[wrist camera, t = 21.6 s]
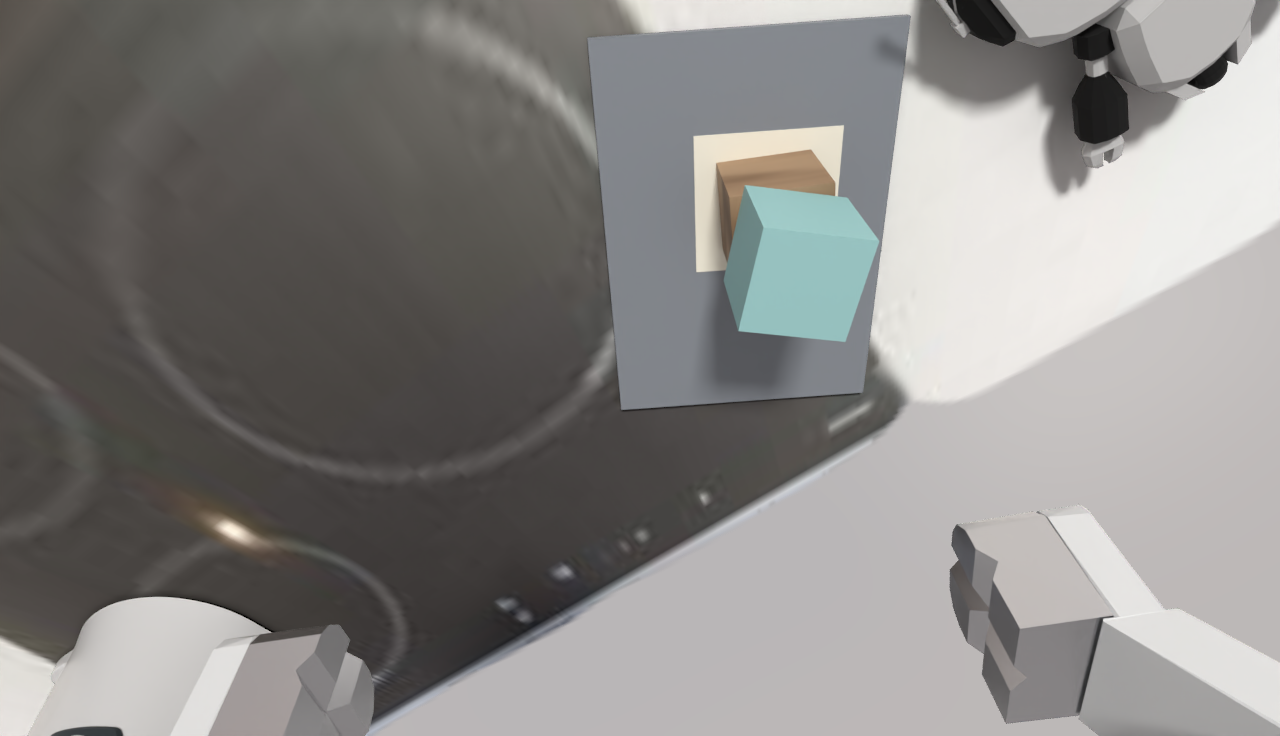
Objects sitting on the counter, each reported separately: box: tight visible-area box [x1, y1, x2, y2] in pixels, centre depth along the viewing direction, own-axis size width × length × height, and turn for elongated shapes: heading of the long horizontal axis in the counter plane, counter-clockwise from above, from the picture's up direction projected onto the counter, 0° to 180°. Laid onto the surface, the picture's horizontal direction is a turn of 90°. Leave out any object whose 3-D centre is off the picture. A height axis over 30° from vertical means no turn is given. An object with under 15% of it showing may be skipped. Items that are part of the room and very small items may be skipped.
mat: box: [587, 15, 911, 410], centre depth 38 cm, size 20×14×1 cm
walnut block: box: [716, 150, 835, 263], centre depth 35 cm, size 4×4×4 cm
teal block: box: [724, 185, 879, 342], centre depth 31 cm, size 4×4×4 cm
